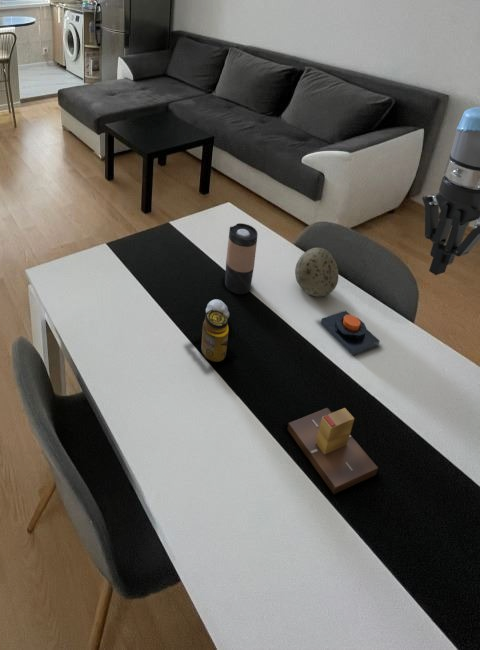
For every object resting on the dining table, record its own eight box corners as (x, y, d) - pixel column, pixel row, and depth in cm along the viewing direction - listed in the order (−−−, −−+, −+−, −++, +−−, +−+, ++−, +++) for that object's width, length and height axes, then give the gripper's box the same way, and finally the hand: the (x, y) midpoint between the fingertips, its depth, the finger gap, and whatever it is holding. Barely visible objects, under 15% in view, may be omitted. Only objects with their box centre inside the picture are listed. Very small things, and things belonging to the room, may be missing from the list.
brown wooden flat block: (375, 475, 81) (378, 467, 80) (333, 495, 79) (335, 486, 78) (325, 415, 92) (327, 406, 91) (286, 430, 90) (288, 422, 89)
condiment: (233, 358, 106) (237, 322, 101) (206, 372, 103) (209, 336, 98) (213, 336, 112) (216, 301, 107) (187, 349, 109) (189, 313, 104)
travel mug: (251, 298, 123) (258, 241, 115) (223, 292, 125) (228, 237, 118) (250, 279, 129) (257, 225, 122) (224, 274, 132) (229, 221, 124)
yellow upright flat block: (337, 433, 86) (345, 406, 83) (347, 445, 84) (354, 417, 81) (315, 443, 85) (322, 415, 82) (324, 454, 83) (331, 427, 80)
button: (362, 328, 107) (364, 323, 107) (351, 332, 106) (352, 327, 106) (350, 317, 111) (351, 312, 110) (339, 321, 110) (340, 316, 109)
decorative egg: (343, 300, 120) (353, 258, 115) (310, 309, 118) (319, 266, 112) (314, 274, 130) (322, 234, 124) (284, 282, 128) (290, 241, 122)
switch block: (378, 347, 106) (381, 335, 105) (352, 356, 104) (355, 344, 103) (344, 316, 115) (347, 305, 114) (320, 324, 113) (322, 313, 112)
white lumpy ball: (204, 329, 114) (206, 310, 111) (205, 309, 120) (206, 290, 117) (228, 334, 112) (230, 314, 110) (227, 313, 118) (229, 294, 116)
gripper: (421, 170, 92) (396, 257, 101) (489, 201, 81) (455, 296, 89) (446, 163, 94) (420, 249, 103) (517, 193, 82) (481, 287, 91)
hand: (436, 271), depth 96 cm, fingers closed
